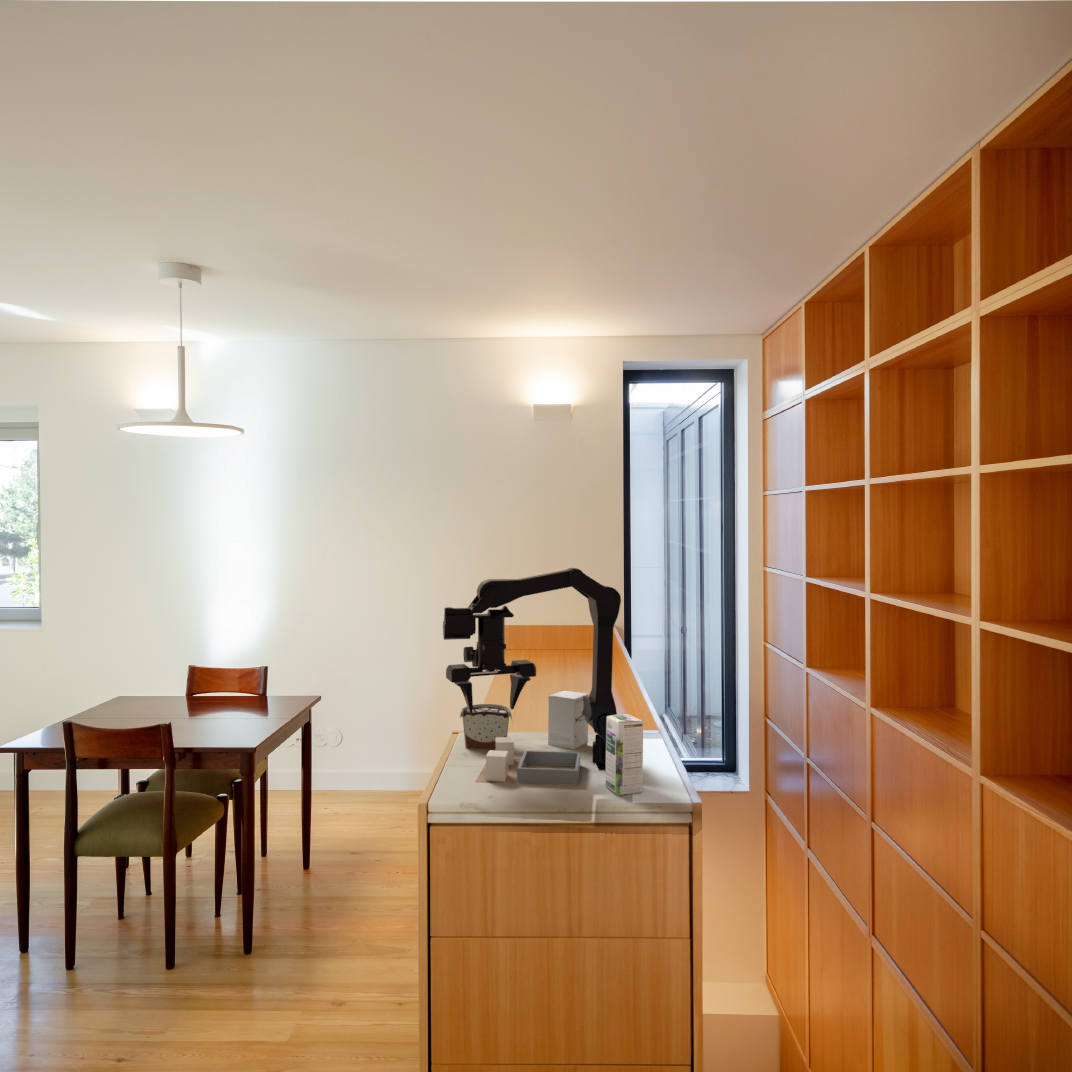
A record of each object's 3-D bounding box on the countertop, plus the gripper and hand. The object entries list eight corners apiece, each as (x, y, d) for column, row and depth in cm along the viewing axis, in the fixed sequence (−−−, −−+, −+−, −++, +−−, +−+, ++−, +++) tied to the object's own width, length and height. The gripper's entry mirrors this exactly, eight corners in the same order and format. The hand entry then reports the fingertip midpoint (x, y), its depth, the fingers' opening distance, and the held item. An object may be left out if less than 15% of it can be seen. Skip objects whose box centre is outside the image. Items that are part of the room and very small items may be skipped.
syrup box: (604, 787, 144) (604, 715, 144) (629, 783, 147) (630, 712, 147) (617, 796, 139) (618, 722, 139) (644, 792, 141) (644, 719, 141)
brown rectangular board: (524, 762, 160) (524, 758, 160) (514, 787, 144) (514, 783, 144) (489, 761, 161) (489, 757, 161) (475, 785, 145) (475, 781, 145)
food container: (515, 745, 173) (515, 704, 173) (511, 753, 167) (511, 710, 166) (464, 743, 174) (465, 702, 174) (459, 751, 168) (459, 708, 168)
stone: (508, 774, 149) (508, 750, 149) (505, 781, 145) (505, 756, 145) (489, 774, 149) (489, 750, 149) (485, 780, 145) (485, 756, 145)
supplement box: (573, 752, 167) (574, 699, 167) (547, 747, 171) (547, 694, 171) (589, 745, 173) (589, 693, 173) (562, 740, 177) (563, 689, 177)
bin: (580, 768, 155) (580, 752, 155) (577, 788, 143) (577, 770, 143) (524, 766, 157) (524, 750, 157) (517, 786, 145) (517, 768, 145)
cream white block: (513, 759, 159) (513, 737, 159) (513, 765, 155) (514, 742, 155) (495, 759, 159) (495, 737, 159) (495, 765, 155) (495, 742, 155)
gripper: (520, 631, 164) (520, 699, 164) (440, 635, 157) (440, 706, 157) (537, 638, 153) (537, 710, 153) (452, 642, 147) (452, 718, 147)
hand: (491, 710), depth 153 cm, fingers open, 9 cm apart
